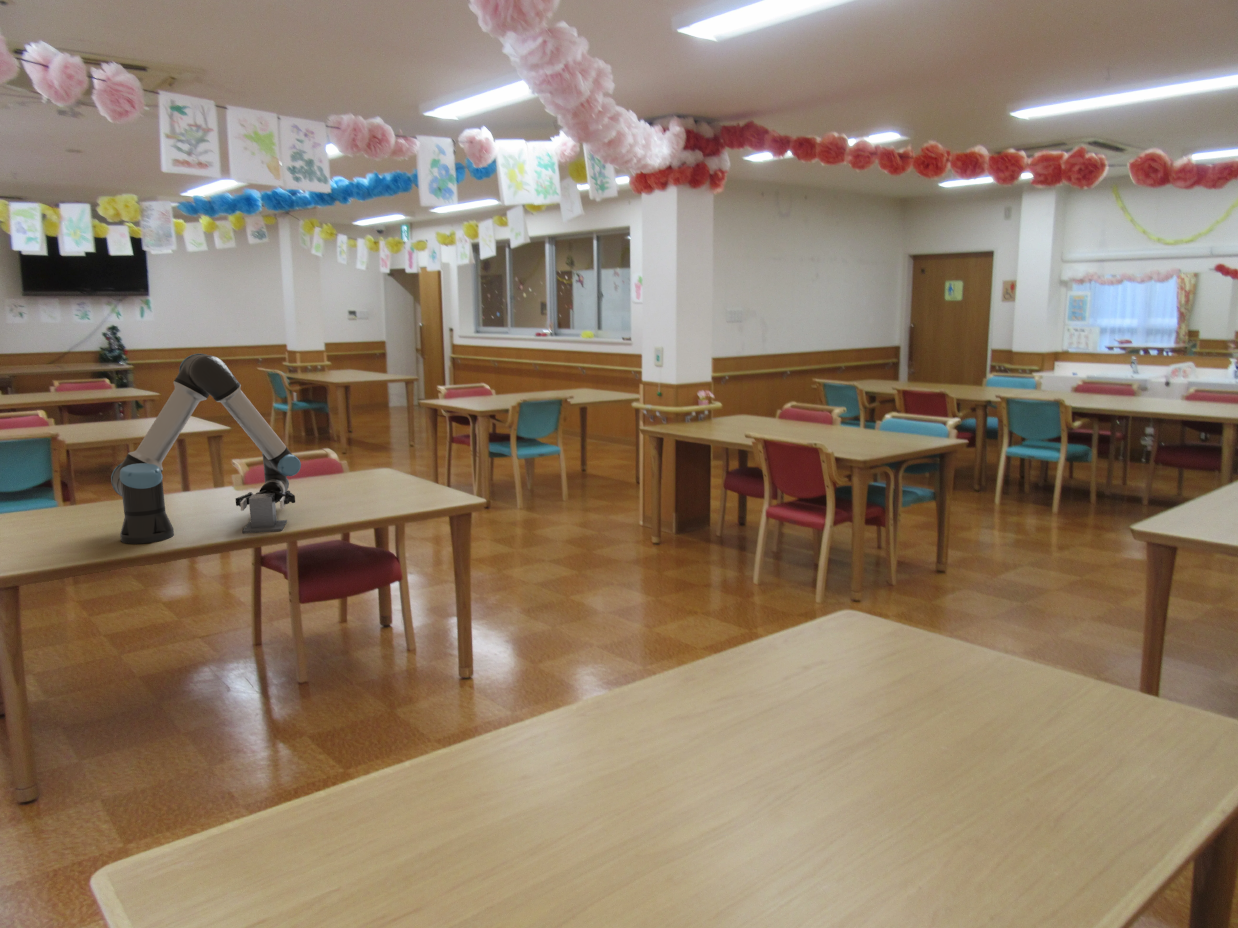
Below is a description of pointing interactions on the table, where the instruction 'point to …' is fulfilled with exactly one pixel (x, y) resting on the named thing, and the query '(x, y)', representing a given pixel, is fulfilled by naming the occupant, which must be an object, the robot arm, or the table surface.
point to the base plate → (277, 527)
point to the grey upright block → (262, 510)
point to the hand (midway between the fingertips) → (261, 505)
